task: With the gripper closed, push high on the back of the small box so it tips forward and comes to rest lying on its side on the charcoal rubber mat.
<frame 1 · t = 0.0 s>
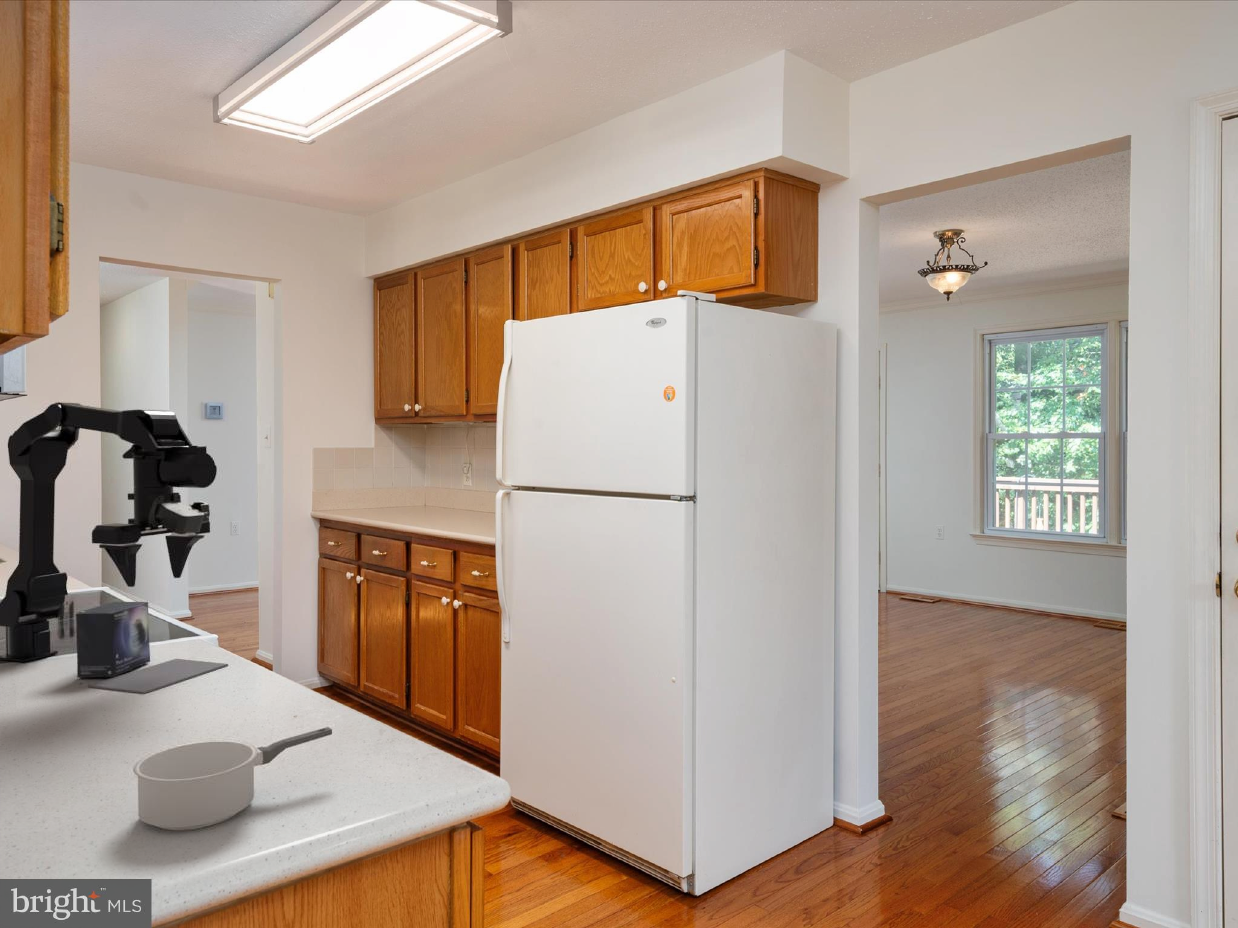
hand: (154, 582, 143), 15 cm above the counter, fingers open, 9 cm apart
small box: (115, 670, 143), on the counter, touching mat
saucepan: (240, 802, 93), on the counter
mat: (161, 675, 141), on the counter
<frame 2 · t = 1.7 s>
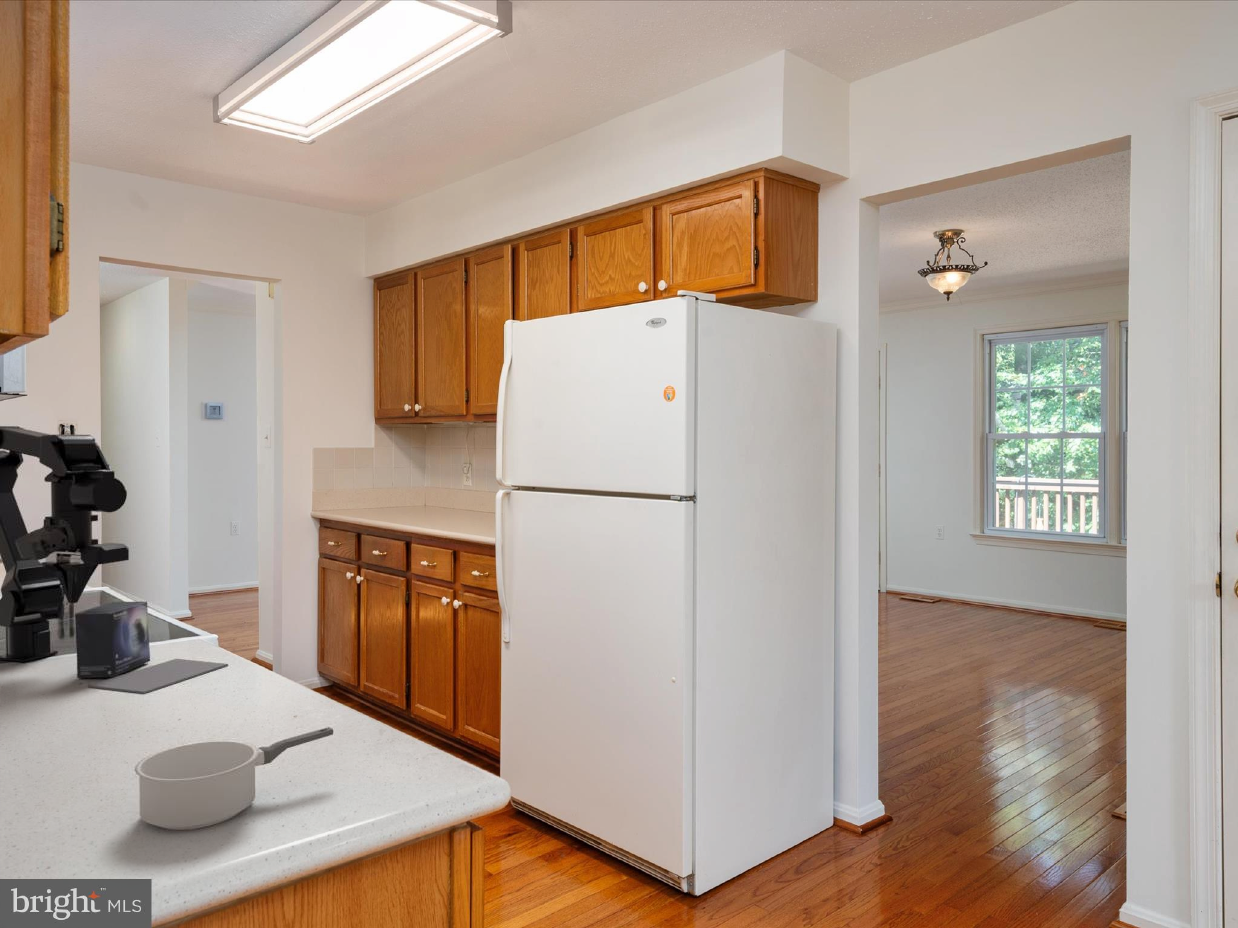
hand: (72, 602, 146), 11 cm above the counter, fingers closed
nothing on the counter moved.
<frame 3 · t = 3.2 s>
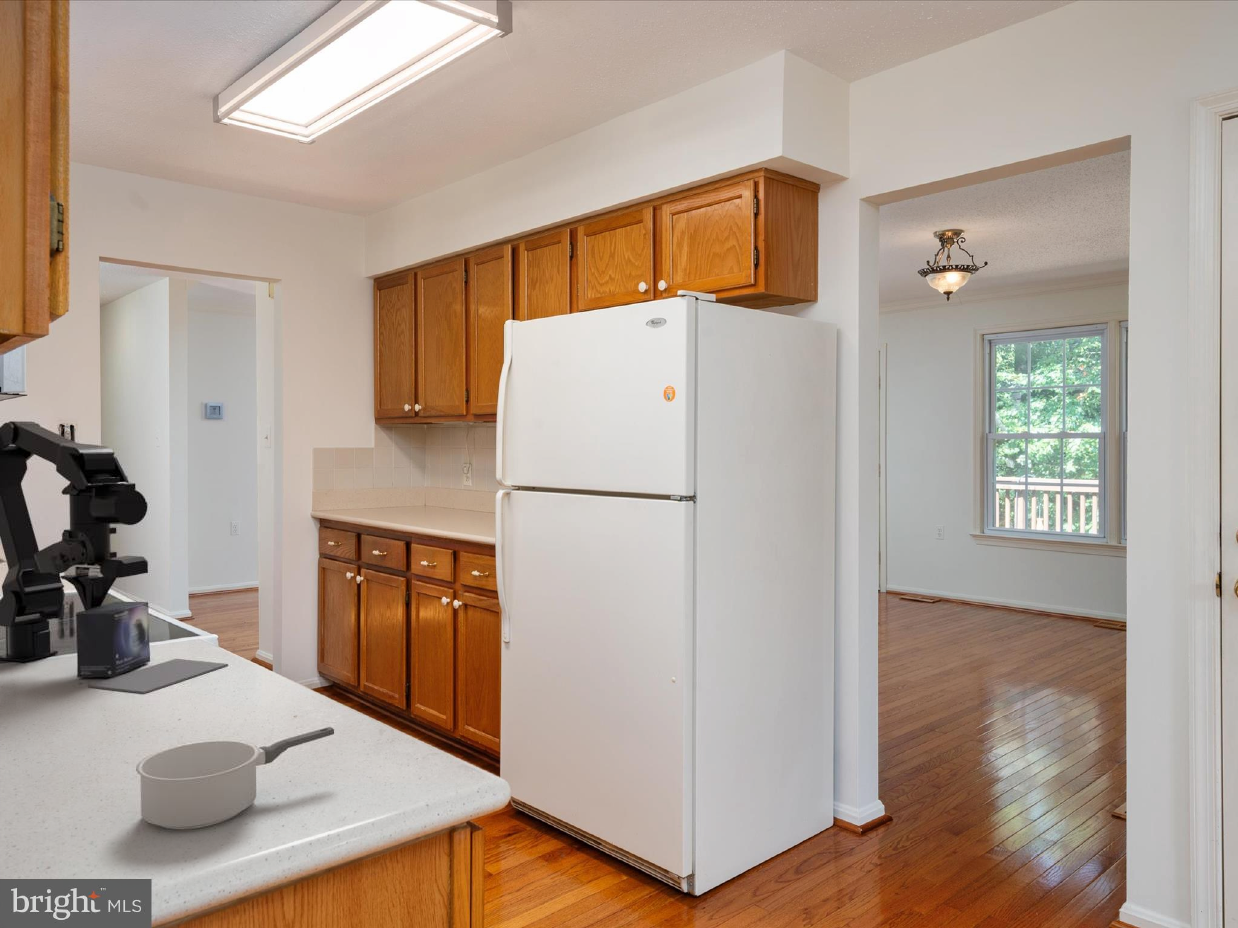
hand: (91, 616, 145), 9 cm above the counter, fingers closed
small box: (115, 670, 143), on the counter, touching gripper, mat
everything else where it was.
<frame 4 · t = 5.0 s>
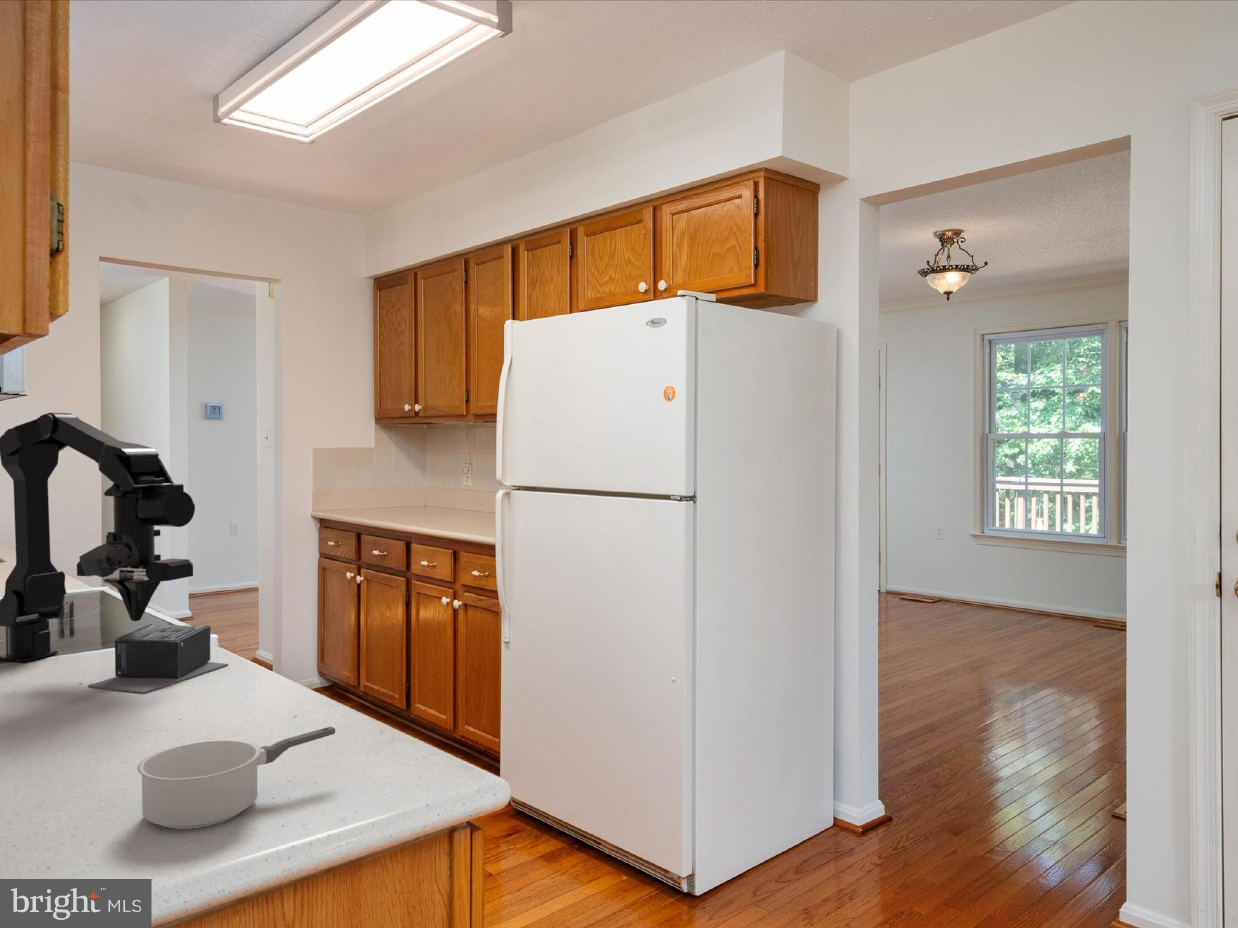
hand: (135, 620, 142), 9 cm above the counter, fingers closed
small box: (131, 650, 143), point 3 cm above the counter, touching mat
everything else where it was.
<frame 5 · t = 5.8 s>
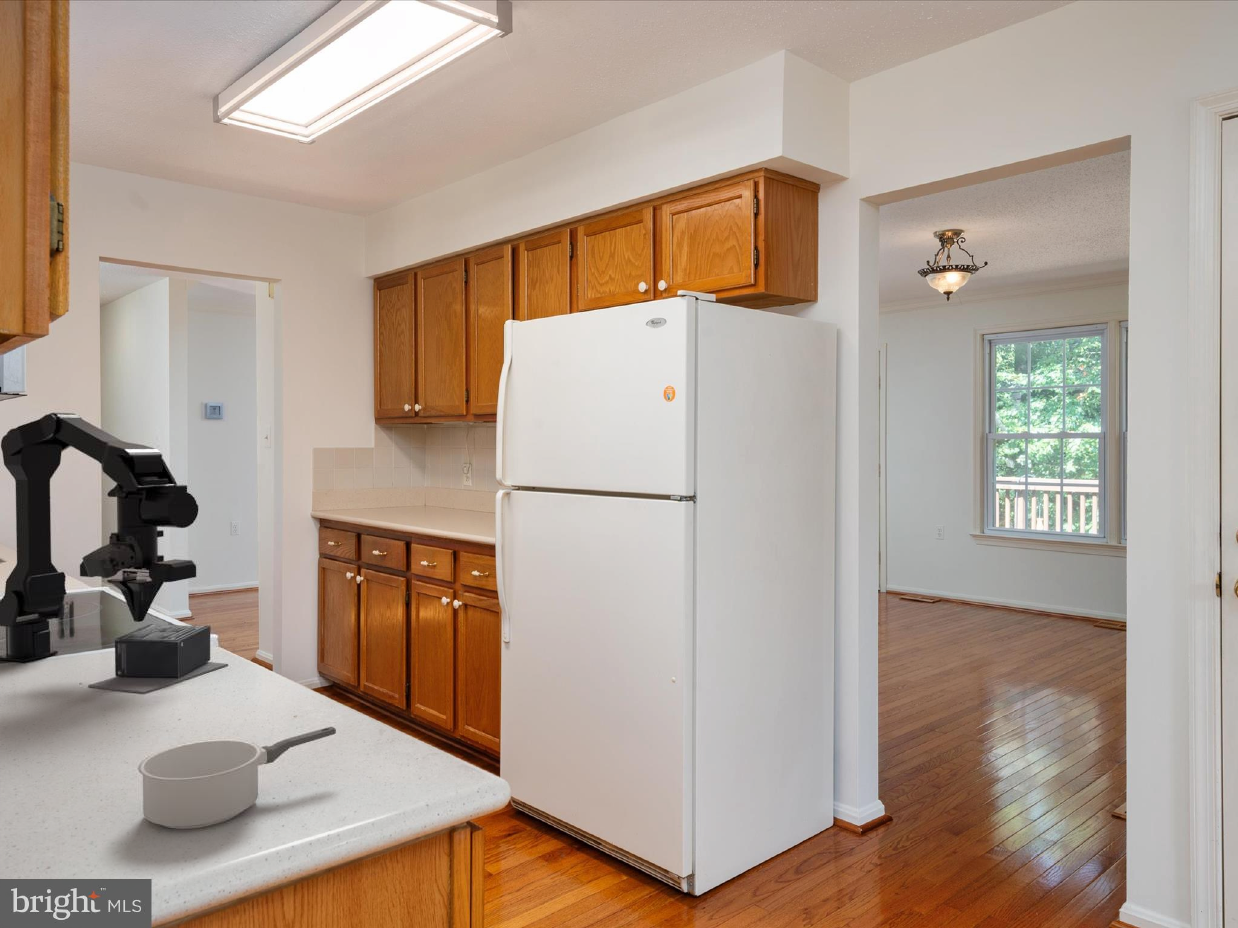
hand: (138, 621, 142), 8 cm above the counter, fingers closed
nothing on the counter moved.
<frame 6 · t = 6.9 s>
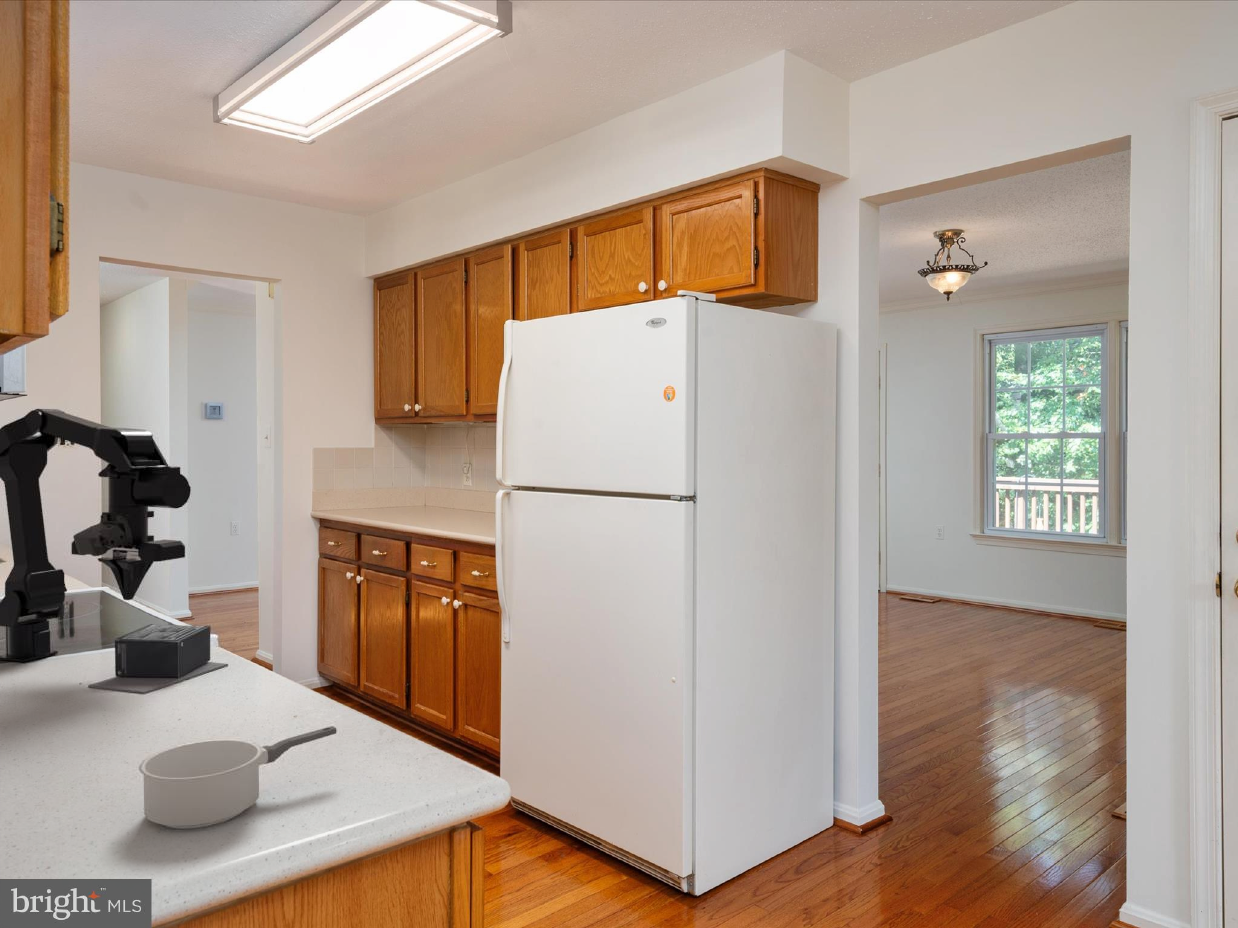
hand: (128, 599, 144), 12 cm above the counter, fingers closed
nothing on the counter moved.
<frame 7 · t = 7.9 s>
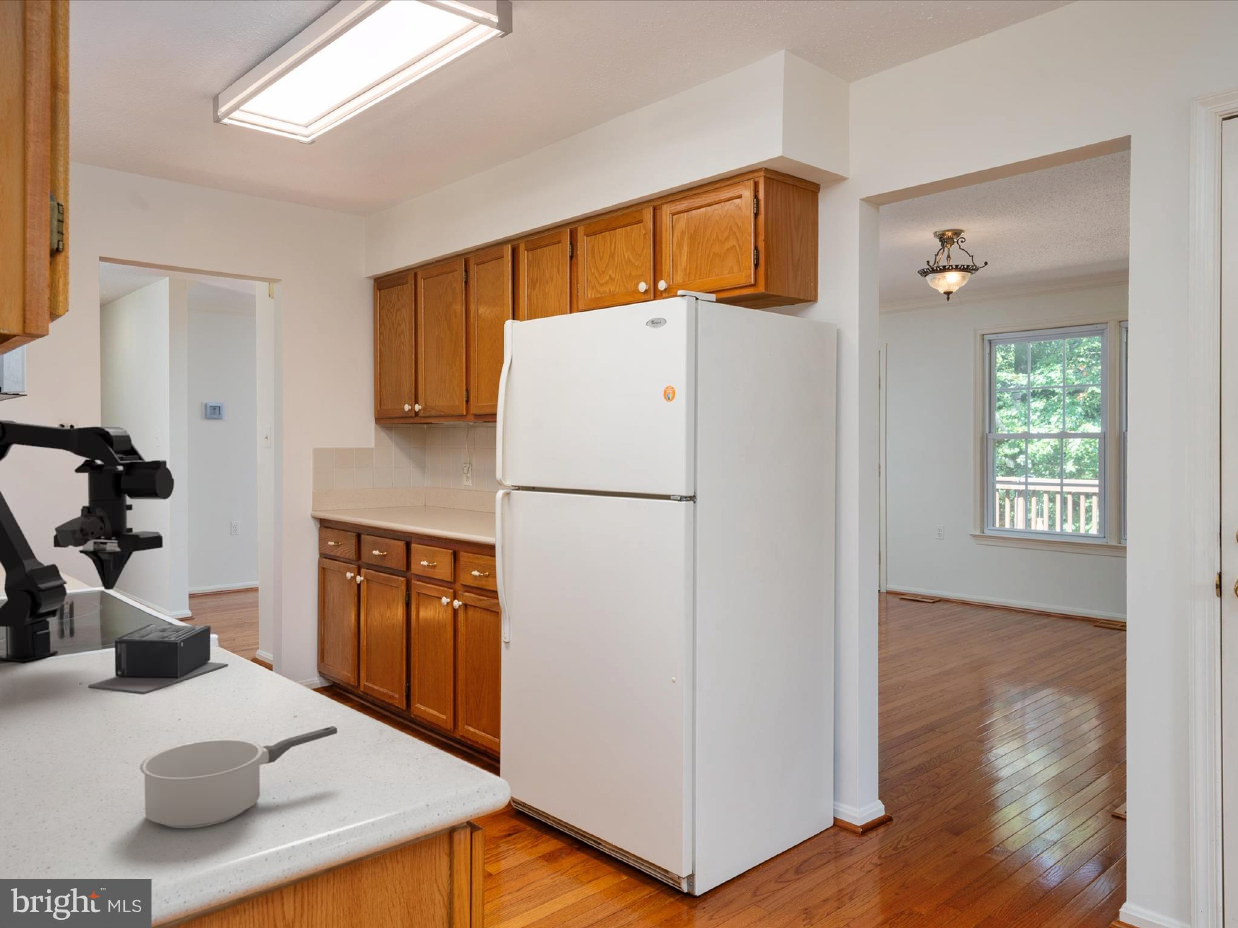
hand: (108, 589, 151), 12 cm above the counter, fingers closed
nothing on the counter moved.
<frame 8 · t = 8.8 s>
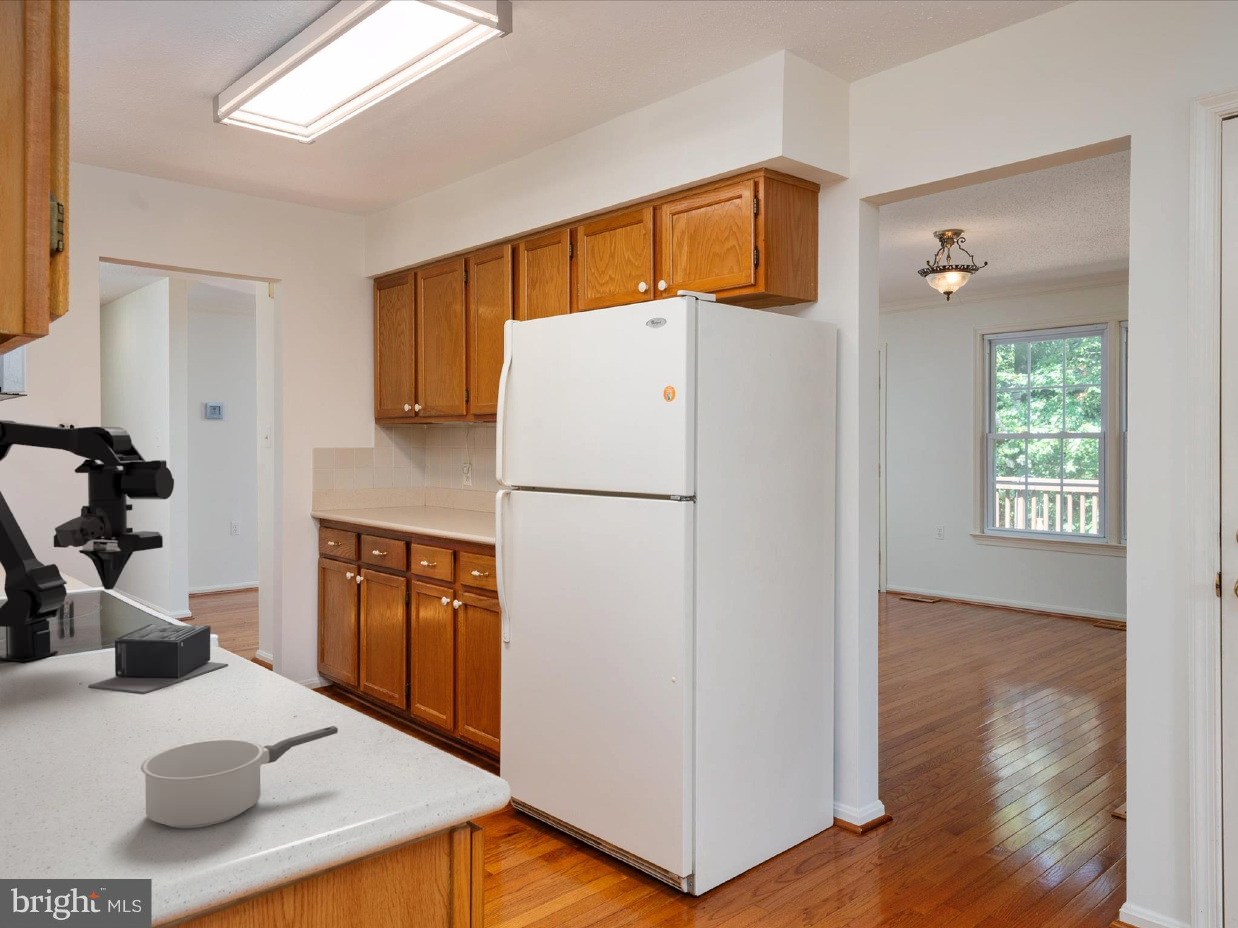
hand: (108, 589, 151), 12 cm above the counter, fingers closed
nothing on the counter moved.
at the end: small box tilted 90°; small box inside the target area (2.8 cm from its centre), point 3.5 cm above the counter; small box touching mat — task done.
